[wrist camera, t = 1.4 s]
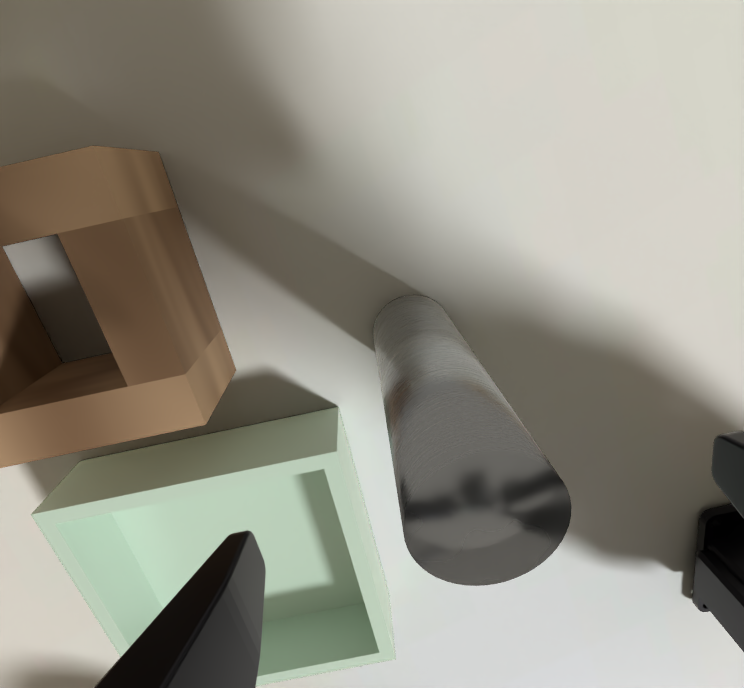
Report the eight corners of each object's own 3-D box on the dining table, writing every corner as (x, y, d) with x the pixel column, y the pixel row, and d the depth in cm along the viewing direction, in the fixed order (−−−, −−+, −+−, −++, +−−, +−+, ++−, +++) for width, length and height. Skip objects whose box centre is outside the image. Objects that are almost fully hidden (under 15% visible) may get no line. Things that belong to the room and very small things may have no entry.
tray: (338, 406, 18) (336, 451, 15) (389, 595, 22) (395, 659, 19) (80, 460, 19) (30, 514, 16) (176, 637, 23) (151, 706, 20)
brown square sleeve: (158, 151, 14) (93, 145, 11) (236, 370, 17) (205, 424, 14) (-76, 205, 15) (-220, 217, 11) (40, 412, 18) (-43, 477, 14)
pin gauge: (444, 287, 17) (567, 435, 7) (455, 359, 18) (574, 567, 8) (365, 304, 17) (388, 472, 7) (381, 375, 18) (418, 599, 8)
